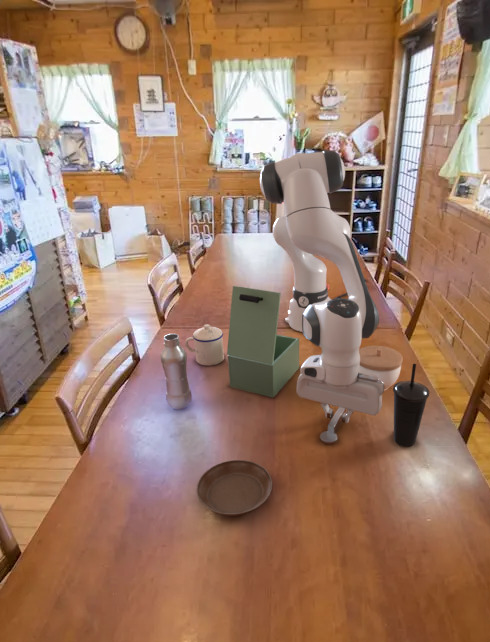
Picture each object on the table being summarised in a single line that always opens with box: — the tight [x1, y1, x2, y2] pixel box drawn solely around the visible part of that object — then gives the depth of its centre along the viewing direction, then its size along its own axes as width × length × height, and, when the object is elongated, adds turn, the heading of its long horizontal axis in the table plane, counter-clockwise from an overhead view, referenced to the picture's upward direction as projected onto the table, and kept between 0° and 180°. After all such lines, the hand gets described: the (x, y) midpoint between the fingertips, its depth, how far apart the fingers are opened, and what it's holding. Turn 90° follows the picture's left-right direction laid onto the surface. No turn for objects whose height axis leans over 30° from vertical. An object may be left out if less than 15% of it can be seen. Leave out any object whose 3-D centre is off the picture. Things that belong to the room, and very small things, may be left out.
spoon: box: [319, 407, 347, 446], centre depth 108 cm, size 12×4×3 cm, turn 154°
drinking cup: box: [392, 363, 430, 448], centre depth 100 cm, size 8×8×20 cm
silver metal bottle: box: [159, 333, 193, 410], centre depth 115 cm, size 6×7×20 cm
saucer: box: [196, 459, 273, 517], centre depth 90 cm, size 15×15×3 cm
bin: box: [227, 334, 300, 399], centre depth 129 cm, size 18×14×10 cm
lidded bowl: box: [359, 345, 404, 392], centre depth 124 cm, size 13×13×11 cm
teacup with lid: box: [184, 323, 225, 367], centre depth 139 cm, size 12×9×12 cm
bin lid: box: [226, 285, 282, 365], centre depth 116 cm, size 19×14×5 cm
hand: (337, 419), depth 110 cm, fingers open, 3 cm apart
